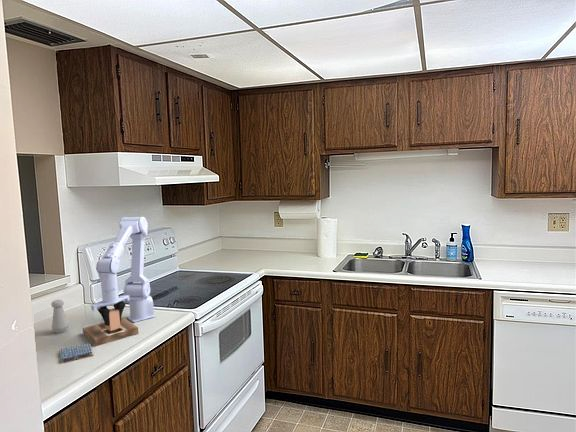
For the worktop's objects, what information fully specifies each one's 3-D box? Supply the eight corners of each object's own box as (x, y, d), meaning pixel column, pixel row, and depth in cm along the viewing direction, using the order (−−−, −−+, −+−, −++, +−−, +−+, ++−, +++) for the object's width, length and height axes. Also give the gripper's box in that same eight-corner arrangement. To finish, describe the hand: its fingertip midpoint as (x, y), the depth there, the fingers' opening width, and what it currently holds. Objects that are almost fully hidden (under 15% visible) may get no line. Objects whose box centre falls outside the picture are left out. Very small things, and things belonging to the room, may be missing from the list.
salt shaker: (71, 328, 175) (68, 297, 173) (64, 333, 169) (61, 302, 167) (56, 329, 175) (53, 298, 173) (49, 334, 169) (46, 303, 167)
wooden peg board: (124, 323, 178) (123, 317, 178) (138, 333, 166) (138, 327, 166) (83, 334, 168) (82, 327, 168) (95, 346, 156) (95, 339, 156)
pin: (115, 325, 167) (113, 308, 166) (120, 327, 164) (118, 310, 163) (105, 328, 164) (103, 311, 163) (110, 330, 161) (109, 313, 160)
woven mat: (90, 346, 157) (90, 341, 157) (94, 357, 148) (94, 351, 148) (59, 354, 152) (58, 348, 151) (60, 365, 143) (60, 359, 142)
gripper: (121, 282, 170) (124, 315, 171) (85, 292, 159) (89, 327, 160) (131, 285, 165) (134, 318, 167) (95, 295, 154) (98, 331, 156)
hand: (112, 323), depth 163 cm, fingers closed on pin, 4 cm apart
